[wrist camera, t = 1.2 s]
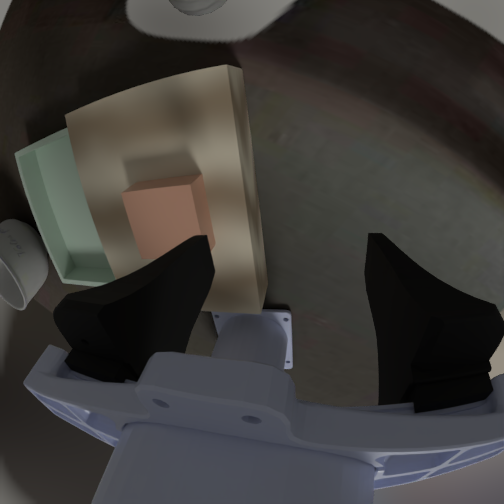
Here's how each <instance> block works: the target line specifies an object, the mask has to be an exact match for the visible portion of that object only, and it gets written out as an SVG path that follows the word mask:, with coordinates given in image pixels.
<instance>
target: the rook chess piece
mask: <svg viewBox="0 0 504 504" xmlns="http://www.w3.org/2000/svg"><path fill="white" fill-rule="evenodd" d="M169 1H170V2H171V4H172V5H173V6H174V7H175V8H177V9H178V10H179V11H180V12H183V13H185V14H187V15H197V16H200V15H204V14H208V13H212V12H213V11H215V10H216V9H218V8H220V7H221V6H222V5H223V4H224V3H225V2H226V1H227V0H169Z"/></svg>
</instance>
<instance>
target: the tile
mask: <svg viewBox="0 0 504 504" xmlns="http://www.w3.org/2000/svg"><path fill="white" fill-rule="evenodd" d="M121 195H122V199H123V202H124V206H125V209H126V212H127V216H128V219H129V222H130V225H131V228H132V231H133V235H134V238H135V241H136V244H137V246H138V249H139V252H140V255H141V258H142V259H157V258H159V257H160V256H162V255H164V254H165V253H167V252H168V251H170V250H171V249H173V248H174V247H176V246H177V245H179V244H181V243H182V242H184V241H185V240H187V239H189V238H190V237H192V236H194V235H207V236H208V241H209V245H210V250H211V251H212V249H213V248H214V246H215V244H216V242H215V237H214V232H213V227H212V222H211V217H210V212H209V207H208V202H207V197H206V191H205V186H204V181H203V175H202V174H197V175H187V176H179V177H170V178H163V179H155V180H148V181H141V182H136V183H135V184H133V185H132V186H130V187H129V188H127V189H126V190H124V191H123V192H121Z"/></svg>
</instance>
